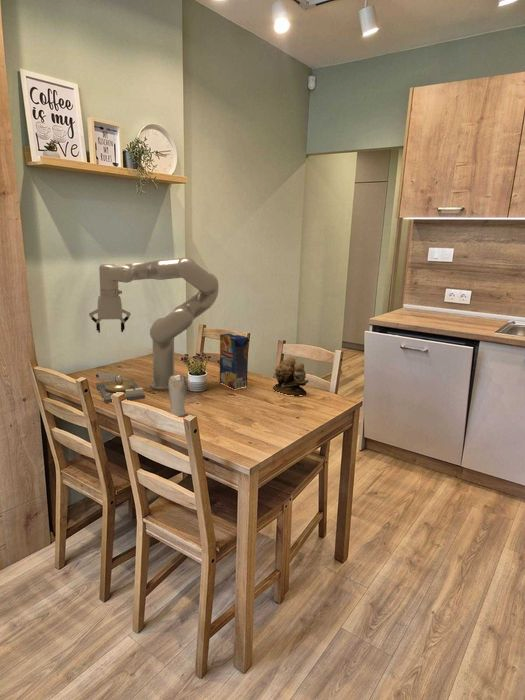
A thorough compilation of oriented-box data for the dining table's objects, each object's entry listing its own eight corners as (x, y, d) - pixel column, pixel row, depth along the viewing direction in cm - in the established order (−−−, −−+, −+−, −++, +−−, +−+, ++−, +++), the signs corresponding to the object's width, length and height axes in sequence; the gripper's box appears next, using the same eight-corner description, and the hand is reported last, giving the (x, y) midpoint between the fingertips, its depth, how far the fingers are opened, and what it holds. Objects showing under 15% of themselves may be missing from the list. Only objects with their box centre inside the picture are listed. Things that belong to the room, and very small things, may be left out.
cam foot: (139, 385, 199) (138, 373, 198) (123, 393, 188) (123, 381, 186) (105, 381, 204) (104, 369, 202) (88, 388, 192) (87, 376, 191)
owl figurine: (313, 393, 203) (316, 357, 199) (299, 400, 194) (301, 362, 190) (281, 384, 213) (283, 350, 209) (266, 390, 204) (268, 354, 200)
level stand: (132, 382, 209) (131, 374, 208) (144, 398, 189) (144, 389, 188) (96, 386, 202) (95, 378, 201) (105, 403, 181) (105, 394, 180)
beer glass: (188, 411, 176) (188, 375, 172) (184, 418, 169) (183, 380, 165) (171, 410, 176) (171, 374, 173) (166, 417, 169) (165, 379, 166)
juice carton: (247, 387, 207) (248, 337, 201) (234, 390, 202) (235, 339, 197) (232, 381, 216) (233, 332, 210) (219, 383, 211) (220, 334, 206)
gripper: (129, 292, 199) (130, 329, 203) (87, 292, 193) (89, 330, 197) (130, 294, 192) (131, 333, 196) (88, 294, 186) (89, 334, 190)
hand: (110, 331), depth 197 cm, fingers open, 9 cm apart
